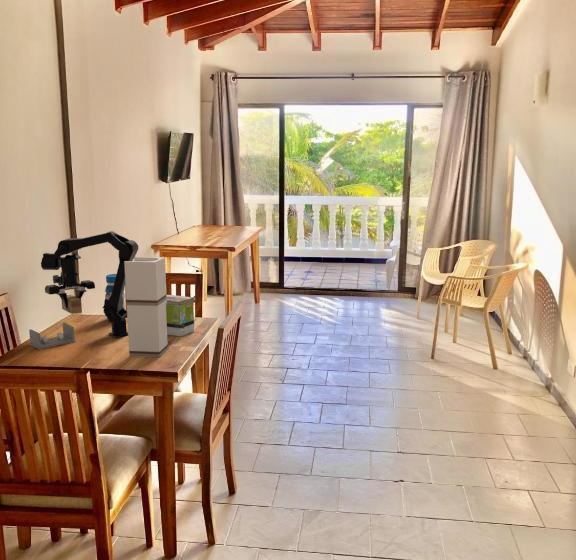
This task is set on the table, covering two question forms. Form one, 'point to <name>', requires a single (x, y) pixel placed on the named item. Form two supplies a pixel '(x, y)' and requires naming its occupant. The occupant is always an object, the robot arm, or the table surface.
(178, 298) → the green and white box
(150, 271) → the white banded pillar
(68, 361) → the table surface
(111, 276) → the beverage bottle
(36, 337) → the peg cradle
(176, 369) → the table surface
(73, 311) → the brown rectangular block
